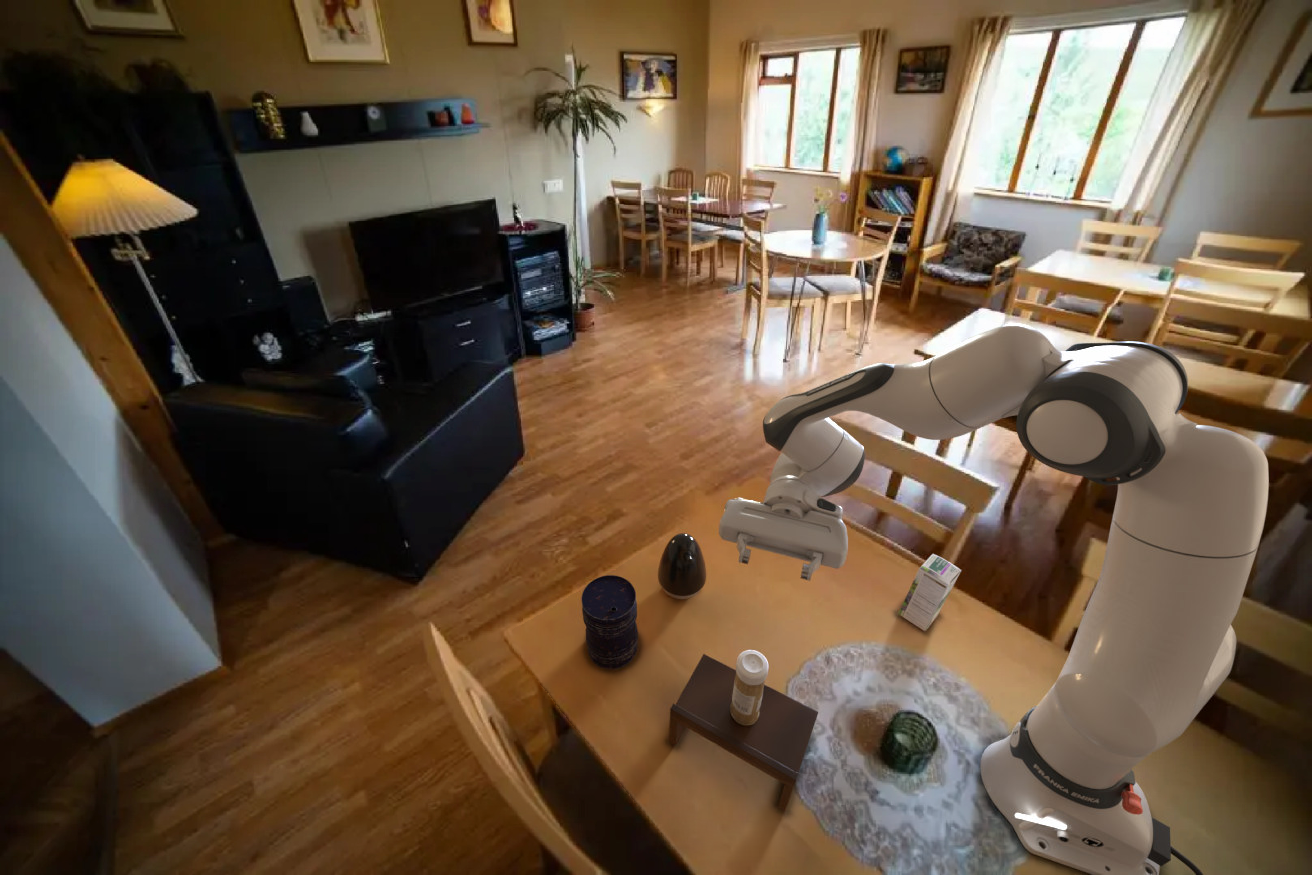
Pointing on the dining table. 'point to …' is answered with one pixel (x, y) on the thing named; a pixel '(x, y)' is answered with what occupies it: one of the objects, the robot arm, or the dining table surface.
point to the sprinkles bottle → (748, 686)
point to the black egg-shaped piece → (682, 567)
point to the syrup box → (929, 591)
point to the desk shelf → (762, 744)
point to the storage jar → (610, 621)
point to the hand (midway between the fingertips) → (774, 568)
